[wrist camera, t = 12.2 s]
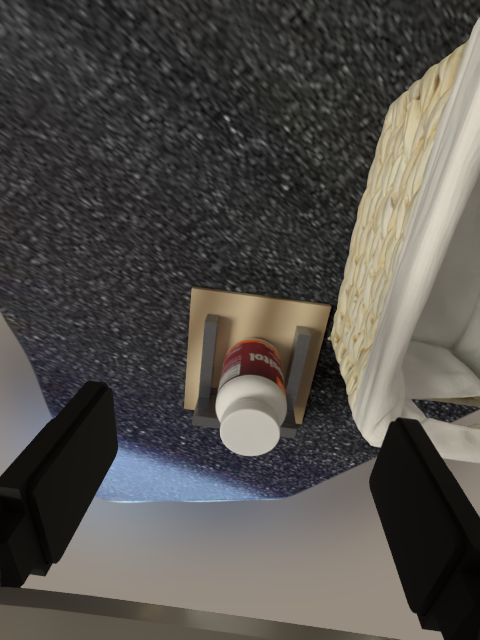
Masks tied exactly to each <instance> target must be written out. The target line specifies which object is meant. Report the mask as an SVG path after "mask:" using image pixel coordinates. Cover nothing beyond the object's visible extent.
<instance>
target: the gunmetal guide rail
mask: <svg viewBox="0 0 480 640" xmlns="http://www.w3.org/2000/svg"><path fill="white" fill-rule="evenodd" d="M218 323H219V315H214V314H207V317H206V319H205V323H204V335H203V347H202V359H201V371H200V383H199V395H198V400H197V403H196V407H195V411H194V414H193V423H192V425H197V426H204V427H212V428H219V429H220V425H221V423H220V421H219V419H218V417H217V414H216V398H217V394H218V389H219V388H212V380H213V371H214V361H215V352H216V342H217V332H218ZM310 338H311V334H310V331H309V328H308V327H305V326H297V325H296V330H295V335H294V340H293V344H292V349H291V354H290V358H289V363H288V368H287V372H286V377H285V382H284V385H285V394H286V402H287V413H286V417H285V419H284V421H283V423H282V425H281V426H280V437H287V438H295V434H296V430H297V428H296V422H295V415H294V406H295V402H296V397H297V393H298V389H299V385H300V380H301V376H302V372H303V368H304V363H305V359H306V355H307V351H308V347H309V342H310Z"/></svg>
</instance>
